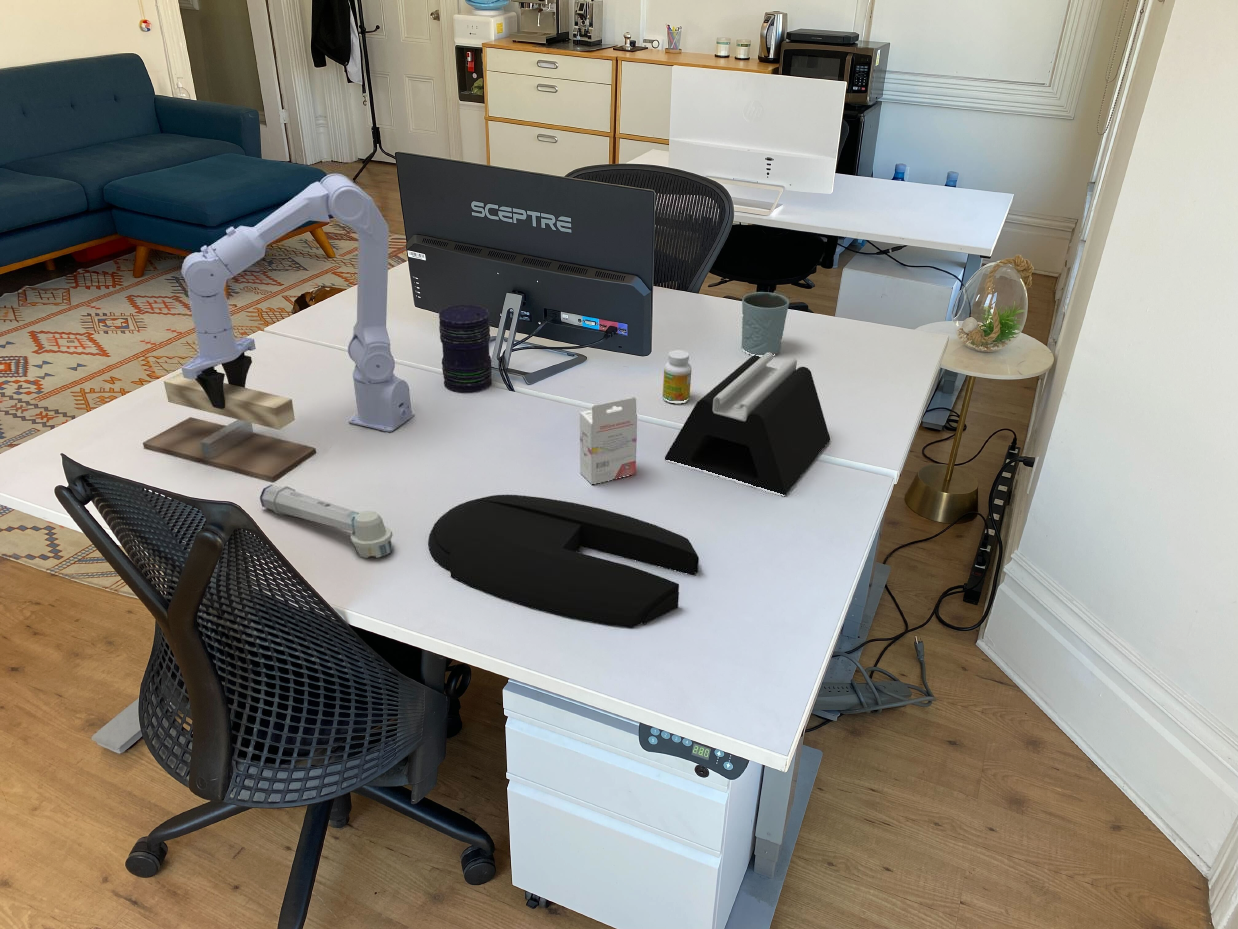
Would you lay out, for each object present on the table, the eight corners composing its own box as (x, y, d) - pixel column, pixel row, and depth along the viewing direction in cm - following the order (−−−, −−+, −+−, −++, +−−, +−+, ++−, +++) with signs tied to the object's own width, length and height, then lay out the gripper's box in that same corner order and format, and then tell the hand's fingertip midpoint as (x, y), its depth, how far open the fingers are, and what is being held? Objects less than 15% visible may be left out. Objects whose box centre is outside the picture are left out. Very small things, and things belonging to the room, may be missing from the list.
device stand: (829, 444, 169) (841, 369, 161) (785, 498, 152) (796, 417, 144) (718, 414, 178) (724, 342, 171) (664, 462, 161) (669, 384, 154)
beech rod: (295, 420, 156) (291, 398, 154) (279, 429, 153) (275, 408, 151) (185, 393, 164) (181, 372, 162) (168, 402, 161) (163, 381, 159)
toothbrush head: (280, 477, 146) (393, 505, 133) (290, 514, 149) (402, 545, 136) (253, 492, 142) (367, 522, 129) (264, 529, 145) (377, 562, 132)
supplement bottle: (658, 402, 182) (660, 356, 177) (667, 391, 186) (670, 346, 181) (684, 407, 180) (687, 361, 175) (692, 396, 184) (696, 351, 180)
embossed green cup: (784, 344, 209) (790, 294, 204) (781, 361, 201) (787, 309, 195) (740, 340, 211) (745, 289, 205) (735, 356, 203) (739, 304, 197)
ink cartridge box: (622, 462, 160) (625, 385, 153) (636, 475, 156) (639, 397, 149) (578, 472, 157) (578, 394, 149) (591, 486, 153) (592, 407, 146)
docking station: (478, 489, 152) (477, 463, 150) (713, 547, 139) (716, 519, 137) (392, 571, 132) (389, 542, 129) (657, 647, 119) (659, 617, 117)
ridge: (253, 434, 163) (250, 419, 162) (212, 459, 155) (209, 443, 154) (244, 432, 164) (241, 417, 163) (203, 456, 156) (199, 441, 155)
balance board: (316, 452, 160) (315, 447, 160) (273, 482, 151) (272, 476, 151) (191, 421, 169) (190, 417, 169) (143, 447, 160) (142, 442, 160)
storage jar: (436, 391, 183) (430, 320, 176) (451, 371, 192) (447, 303, 184) (484, 395, 182) (481, 324, 175) (498, 375, 191) (495, 307, 183)
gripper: (226, 309, 158) (240, 381, 165) (160, 338, 146) (178, 414, 153) (259, 316, 156) (272, 389, 163) (195, 345, 144) (211, 422, 151)
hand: (228, 402), depth 158 cm, fingers closed on beech rod, 4 cm apart
